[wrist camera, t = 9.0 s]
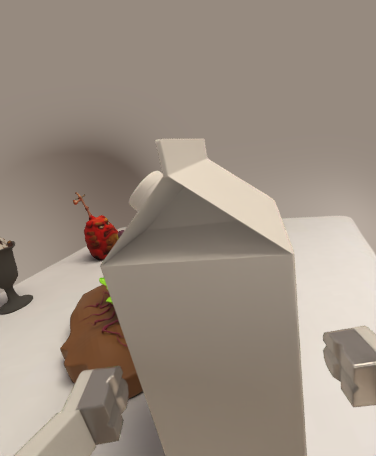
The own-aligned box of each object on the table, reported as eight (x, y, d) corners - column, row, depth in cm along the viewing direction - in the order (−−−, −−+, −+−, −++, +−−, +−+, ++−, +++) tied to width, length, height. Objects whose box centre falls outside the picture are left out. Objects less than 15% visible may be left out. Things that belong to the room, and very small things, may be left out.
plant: (185, 261, 42) (172, 201, 39) (265, 319, 25) (254, 221, 22) (67, 310, 35) (38, 240, 31) (66, 439, 18) (2, 317, 14)
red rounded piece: (110, 261, 50) (87, 191, 45) (84, 262, 52) (60, 196, 47) (129, 246, 56) (110, 184, 52) (105, 248, 59) (85, 188, 54)
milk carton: (290, 389, 18) (268, 124, 12) (312, 528, 12) (287, 109, 6) (201, 380, 20) (146, 151, 14) (177, 494, 14) (61, 162, 8)
